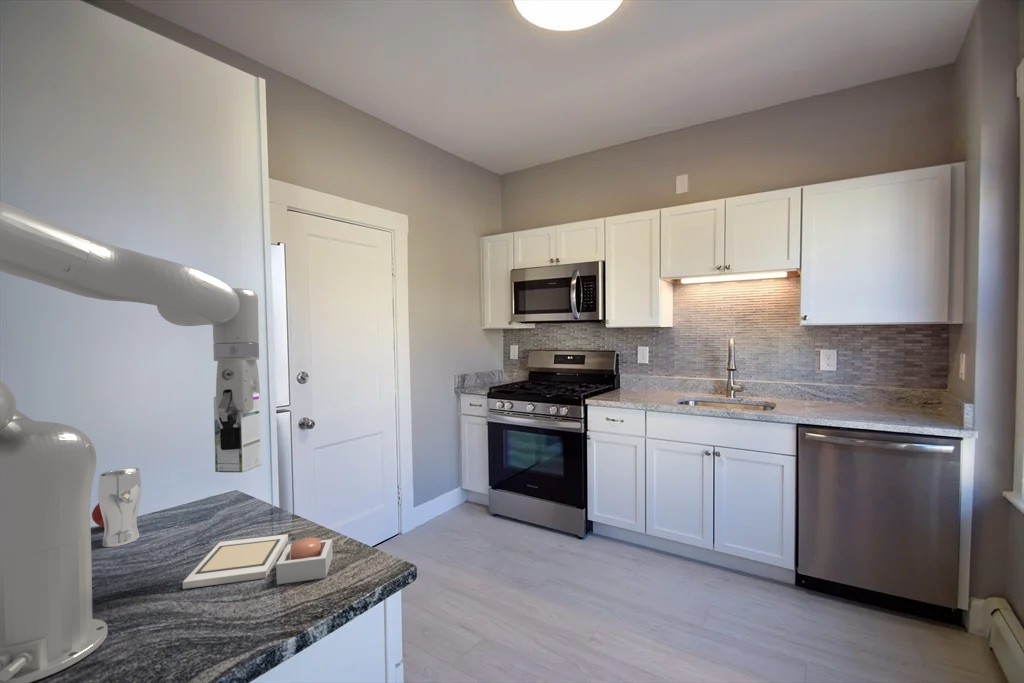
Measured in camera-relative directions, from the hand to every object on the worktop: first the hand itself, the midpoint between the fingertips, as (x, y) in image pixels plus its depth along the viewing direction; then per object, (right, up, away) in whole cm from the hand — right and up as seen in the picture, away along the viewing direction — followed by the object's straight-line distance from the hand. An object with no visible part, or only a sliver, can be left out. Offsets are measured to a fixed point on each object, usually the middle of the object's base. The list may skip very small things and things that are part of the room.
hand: (238, 443), depth 86 cm
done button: (+15, -20, -4) cm, 25 cm away
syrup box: (0, -5, 0) cm, 5 cm away
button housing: (+15, -22, -4) cm, 27 cm away
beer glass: (-32, -24, +11) cm, 41 cm away
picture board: (+1, -23, 0) cm, 23 cm away
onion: (-41, -24, +18) cm, 51 cm away
